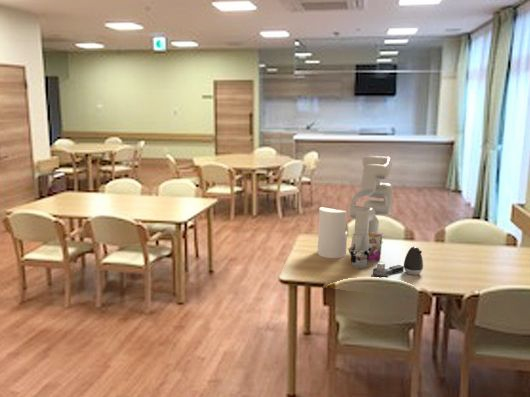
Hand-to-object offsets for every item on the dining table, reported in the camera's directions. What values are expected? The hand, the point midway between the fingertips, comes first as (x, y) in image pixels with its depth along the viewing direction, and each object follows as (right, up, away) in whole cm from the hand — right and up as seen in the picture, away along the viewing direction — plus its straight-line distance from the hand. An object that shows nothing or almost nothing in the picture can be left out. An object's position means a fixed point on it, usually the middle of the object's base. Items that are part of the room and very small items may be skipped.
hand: (359, 260), depth 283 cm
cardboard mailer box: (0, -4, +1) cm, 4 cm away
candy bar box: (+9, -1, +14) cm, 17 cm away
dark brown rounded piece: (+28, -6, -8) cm, 29 cm away
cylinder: (-13, +1, +23) cm, 27 cm away
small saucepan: (+14, -6, -8) cm, 17 cm away
